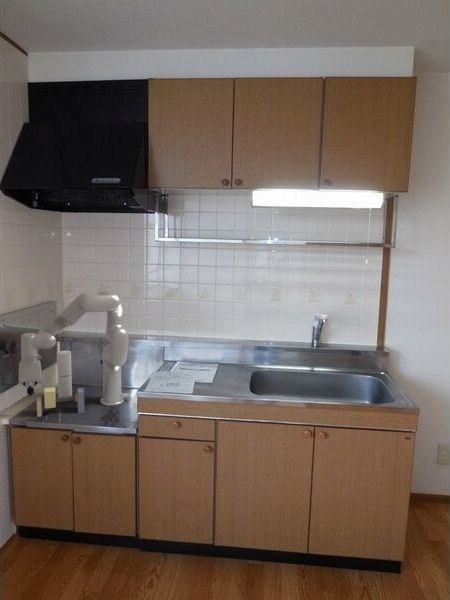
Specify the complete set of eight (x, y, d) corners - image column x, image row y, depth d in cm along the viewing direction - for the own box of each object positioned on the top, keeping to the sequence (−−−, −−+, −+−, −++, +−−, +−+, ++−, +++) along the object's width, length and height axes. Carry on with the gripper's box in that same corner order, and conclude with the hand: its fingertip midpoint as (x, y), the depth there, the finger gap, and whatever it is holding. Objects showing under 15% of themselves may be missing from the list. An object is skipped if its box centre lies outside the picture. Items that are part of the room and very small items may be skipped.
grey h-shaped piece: (83, 407, 231) (83, 387, 229) (84, 412, 226) (84, 391, 224) (37, 412, 224) (37, 391, 222) (37, 417, 218) (36, 395, 216)
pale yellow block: (55, 402, 226) (55, 387, 225) (55, 407, 220) (55, 391, 219) (45, 403, 224) (44, 388, 223) (44, 408, 219) (44, 392, 217)
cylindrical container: (67, 399, 242) (66, 354, 238) (55, 397, 243) (54, 353, 239) (74, 394, 248) (73, 351, 244) (62, 393, 250) (61, 350, 246)
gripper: (46, 355, 221) (47, 391, 224) (13, 357, 216) (14, 393, 219) (46, 360, 214) (46, 396, 217) (12, 361, 209) (12, 398, 212)
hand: (30, 394), depth 218 cm, fingers closed
